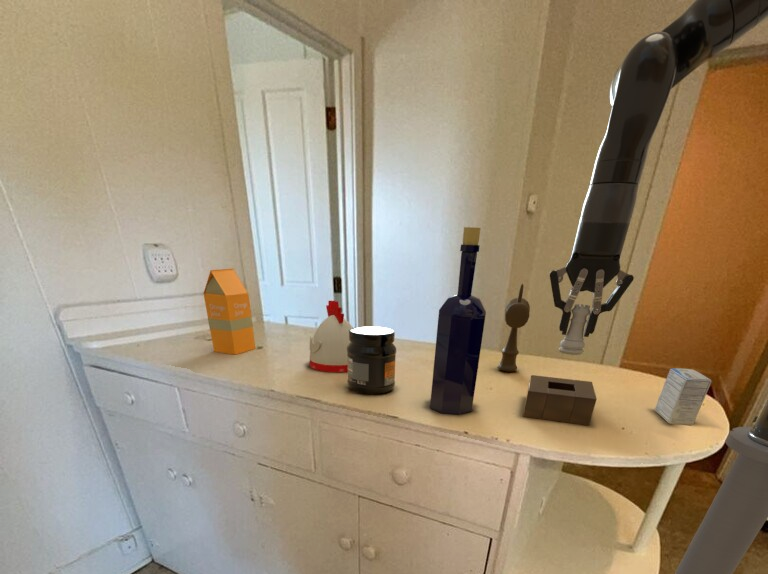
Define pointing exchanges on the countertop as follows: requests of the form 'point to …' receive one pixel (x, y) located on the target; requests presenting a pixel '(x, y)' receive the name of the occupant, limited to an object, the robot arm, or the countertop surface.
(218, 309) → the orange juice
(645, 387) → the countertop surface
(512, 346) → the kendama
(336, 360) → the kitchen timer
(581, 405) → the socket block
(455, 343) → the bottle
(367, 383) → the supplement container
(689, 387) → the medicine box
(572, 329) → the rook chess piece
